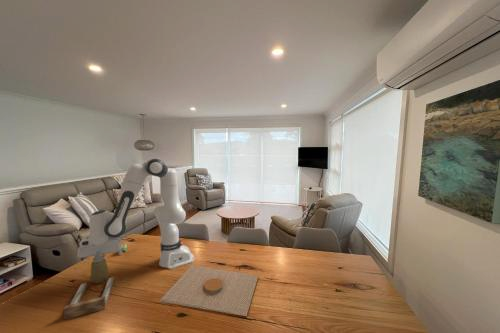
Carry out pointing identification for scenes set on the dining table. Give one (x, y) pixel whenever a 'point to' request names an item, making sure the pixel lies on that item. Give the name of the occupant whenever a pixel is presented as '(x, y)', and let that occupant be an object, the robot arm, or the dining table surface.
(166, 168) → the robot arm
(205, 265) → the dining table surface
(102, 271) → the squeeze bottle
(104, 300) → the cradle
